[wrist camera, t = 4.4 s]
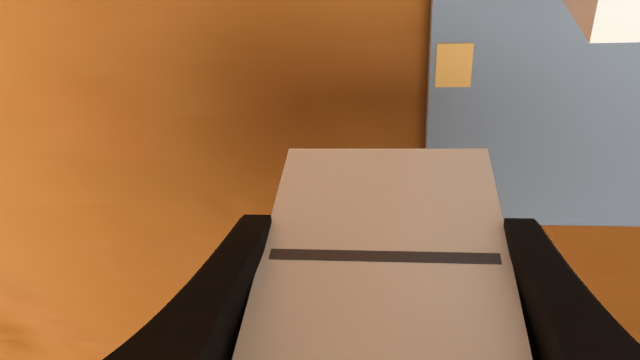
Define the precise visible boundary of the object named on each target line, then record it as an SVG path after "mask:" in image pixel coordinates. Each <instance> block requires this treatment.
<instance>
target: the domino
mask: <svg viewBox="0 0 640 360" xmlns="http://www.w3.org/2000/svg"><path fill="white" fill-rule="evenodd" d="M563 2H564V3H565V5H566V7H567V8H568V10H569V11H570V13H571V15H572V16H573V18H574V19H575V21H576V23H577V24H578V26H579V27H580V29H581V31H582V32H583V34H584V35H585V37H586V39H587V40H588V42H589V43H632V42H640V0H563Z"/></svg>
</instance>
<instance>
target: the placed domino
mask: <svg viewBox="0 0 640 360" xmlns="http://www.w3.org/2000/svg"><path fill="white" fill-rule="evenodd" d="M271 219H272V223H271V227H270V230H269V234H268V238H267V242H266V246H265V249H264V253H263V255H262V258H261V261H260V263H259V266H258V268H257V271H256V273H255V276H254V280H253V283H252V287H251V291H250V294H249V298H248V302H247V305H246V309H245V313H244V317H243V320H242V324H241V328H240V331H239V335H238V339H237V342H236V346H235V350H234V353H233V357H232V360H533V359H532V354H531V349H530V345H529V340H528V335H527V331H526V326H525V321H524V317H523V312H522V307H521V302H520V298H519V293H518V288H517V284H516V279H515V274H514V269H513V265H512V262H511V259H510V254H509V250H508V245H507V240H506V235H505V231H504V226H503V224H504V222H503V218H502V213H501V208H500V204H499V199H498V194H497V189H496V185H495V180H494V175H493V171H492V166H491V161H490V157H489V152H488V148H451V149H289V151H288V154H287V158H286V162H285V165H284V169H283V173H282V176H281V180H280V184H279V187H278V191H277V195H276V199H275V202H274V206H273V210H272V213H271Z"/></svg>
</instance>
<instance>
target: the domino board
mask: <svg viewBox="0 0 640 360" xmlns="http://www.w3.org/2000/svg"><path fill="white" fill-rule="evenodd" d="M451 148H488V152H489V157H490V161H491V166H492V171H493V175H494V180H495V185H496V189H497V194H498V199H499V204H500V208H501V213H502V218H503V222H504V218H534V219H535V220H536V221H537V222H538V223H539V224H540V225H572V226H640V42H632V43H589V42H588V40H587V39H586V37H585V35H584V34H583V32H582V31H581V29H580V27H579V26H578V24H577V23H576V21H575V19H574V18H573V16H572V15H571V13H570V11H569V10H568V8H567V7H566V5H565V3H564V2H563V0H431V10H430V35H429V60H428V85H427V110H426V135H425V149H451Z"/></svg>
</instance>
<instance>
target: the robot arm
mask: <svg viewBox="0 0 640 360" xmlns="http://www.w3.org/2000/svg"><path fill="white" fill-rule="evenodd" d="M271 223H272V219H271V215H244V216H242V217H241V218H240V219H239V221H238V222H237V223H236V225H235V226H234V227H233V229H232V230H231V231H230V232H229V234H228V235H227V236H226V238H225V239H224V240H223V241H222V243H221V244H220V245H219V246H218V248H217V249H216V250H215V251H214V253H213V254H212V255H211V256H210V257H209V259H208V260H207V261H206V262H205V263H204V264H203V266H202V267H201V268H200V269H199V270H198V271H197V273H196V274H195V275H194V276H193V277H192V278H191V279H190V281H189V282H188V283H187V284H186V285H185V286H184V287H183V288H182V289H181V290H180V291H179V292H178V293H177V294H176V295H175V296H174V297H173V299H172V300H171V301H170V302H169V303H168V304H167V305H166V306H165V307H164V308H163V309H162V310H161V311H160V312H159V313H158V314H157V315H156V316H154V317H153V318H152V319H151V320H150V321H149V322H148V323H147V324H146V325H145V326H144V327H142V328H141V329H140V330H139V331H138V332H137V333H136V334H134V335H133V336H132V337H131V338H130V339H129V340H127V341H126V342H125V343H124V344H122V345H121V346H120V347H119V348H117V349H116V350H115V351H113V352H112V353H111V354H109V355H108V356H107V357H105V358H104V359H103V360H232V357H233V353H234V350H235V346H236V342H237V339H238V335H239V331H240V328H241V324H242V320H243V317H244V313H245V309H246V305H247V302H248V298H249V294H250V291H251V287H252V283H253V280H254V276H255V273H256V271H257V268H258V266H259V263H260V261H261V258H262V255H263V253H264V249H265V246H266V242H267V238H268V234H269V230H270V227H271ZM503 226H504V231H505V235H506V240H507V245H508V250H509V254H510V259H511V262H512V265H513V269H514V274H515V279H516V284H517V288H518V293H519V298H520V302H521V307H522V312H523V317H524V321H525V326H526V331H527V335H528V340H529V345H530V349H531V354H532V359H533V360H640V344H639V343H638V342H637V341H636V340H635V339H634V338H633V337H632V336H631V335H630V334H629V333H628V332H627V331H626V330H625V329H624V328H623V327H622V326H621V325H620V324H619V323H618V322H617V321H616V320H615V319H614V318H613V316H612V315H611V314H610V313H609V312H608V311H607V310H606V309H605V308H604V307H603V306H602V304H601V303H600V302H599V301H598V300H597V299H596V298H595V296H594V295H593V294H592V293H591V292H590V291H589V289H588V288H587V287H586V286H585V284H584V283H583V282H582V281H581V280H580V278H579V277H578V276H577V275H576V274H575V272H574V271H573V270H572V268H571V267H570V266H569V265H568V263H567V262H566V261H565V259H564V258H563V257H562V255H561V254H560V253H559V251H558V250H557V249H556V247H555V246H554V244H553V243H552V242H551V240H550V239H549V237H548V236H547V235H546V233H545V232H544V230H543V229H542V227H541V226H540V224H539V223H538V222H537V221H536V220H535V219H534V218H504V224H503Z"/></svg>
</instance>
